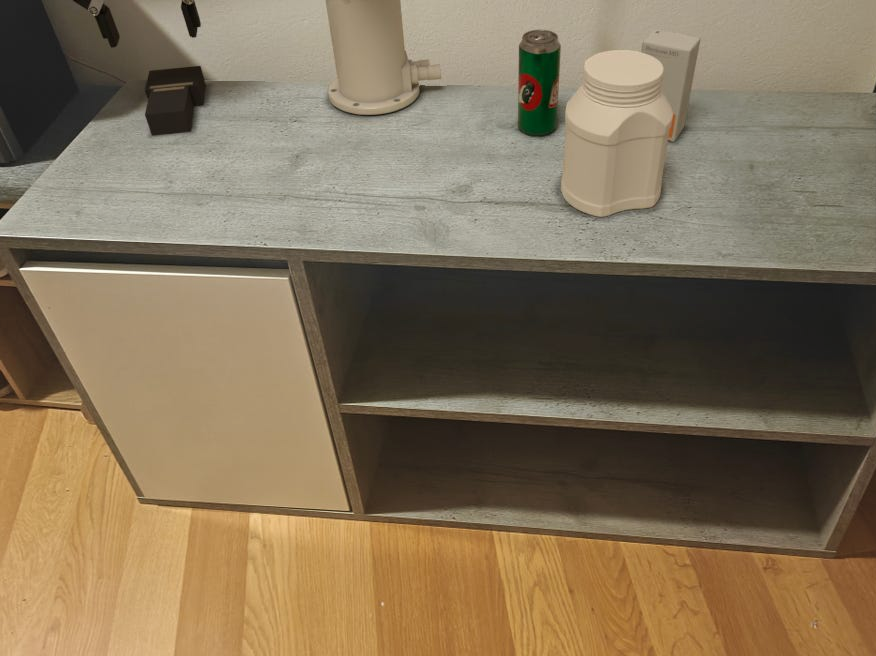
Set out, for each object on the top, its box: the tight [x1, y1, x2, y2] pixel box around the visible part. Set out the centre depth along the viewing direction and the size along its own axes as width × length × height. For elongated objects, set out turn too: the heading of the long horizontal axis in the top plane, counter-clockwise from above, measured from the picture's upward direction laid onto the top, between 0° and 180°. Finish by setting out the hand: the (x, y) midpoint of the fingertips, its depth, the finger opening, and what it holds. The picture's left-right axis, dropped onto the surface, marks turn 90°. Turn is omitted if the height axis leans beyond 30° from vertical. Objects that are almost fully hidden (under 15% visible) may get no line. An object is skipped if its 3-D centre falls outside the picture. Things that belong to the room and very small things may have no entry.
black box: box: [144, 86, 195, 136], centre depth 107 cm, size 5×7×3 cm
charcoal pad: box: [144, 65, 207, 107], centre depth 112 cm, size 7×6×3 cm
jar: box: [560, 49, 673, 218], centre depth 89 cm, size 12×10×15 cm
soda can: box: [517, 29, 562, 137], centre depth 100 cm, size 5×5×12 cm
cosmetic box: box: [640, 28, 701, 143], centre depth 99 cm, size 6×4×12 cm
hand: (155, 38), depth 101 cm, fingers open, 9 cm apart
